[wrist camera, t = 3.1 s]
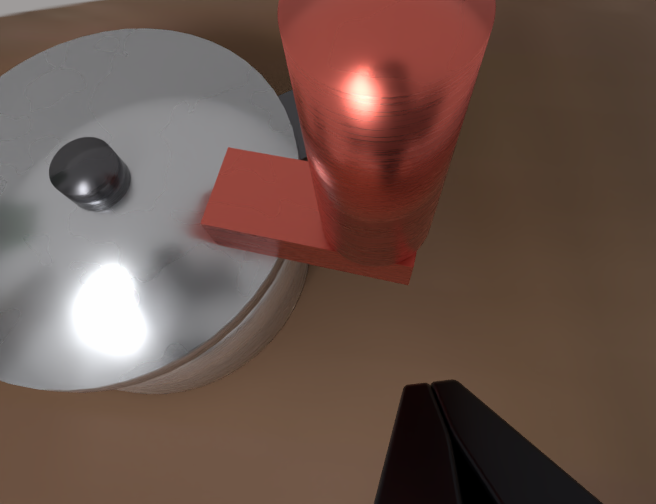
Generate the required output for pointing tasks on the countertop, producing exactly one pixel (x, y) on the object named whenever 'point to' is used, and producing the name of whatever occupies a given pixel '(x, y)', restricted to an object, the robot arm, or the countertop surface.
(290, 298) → the pot
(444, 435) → the robot arm
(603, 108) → the countertop surface
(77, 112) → the lid
